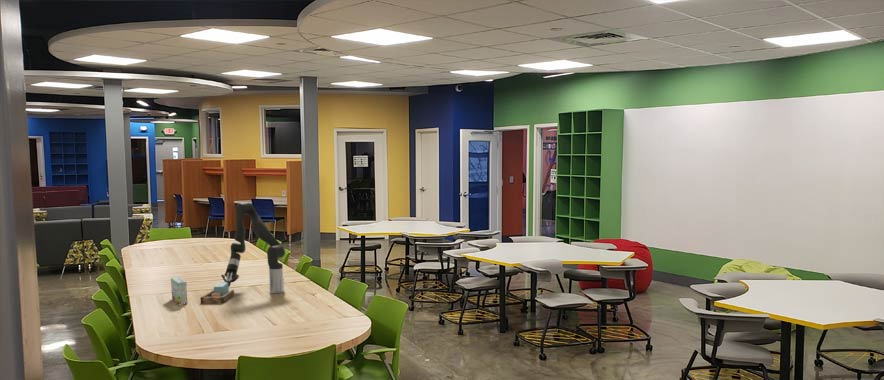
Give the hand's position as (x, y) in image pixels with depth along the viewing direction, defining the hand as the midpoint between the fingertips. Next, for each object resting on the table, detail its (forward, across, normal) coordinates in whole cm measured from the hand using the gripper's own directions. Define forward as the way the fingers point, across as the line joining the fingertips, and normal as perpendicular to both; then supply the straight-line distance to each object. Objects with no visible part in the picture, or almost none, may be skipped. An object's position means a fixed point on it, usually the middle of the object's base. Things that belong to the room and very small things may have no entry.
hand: (227, 286), depth 430 cm
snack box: (+20, -24, -13) cm, 34 cm away
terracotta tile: (+16, -1, -9) cm, 18 cm away
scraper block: (+9, -1, -2) cm, 9 cm away
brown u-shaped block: (+16, 0, -10) cm, 19 cm away
